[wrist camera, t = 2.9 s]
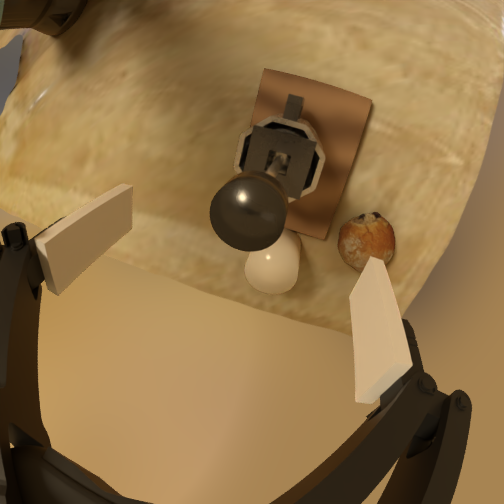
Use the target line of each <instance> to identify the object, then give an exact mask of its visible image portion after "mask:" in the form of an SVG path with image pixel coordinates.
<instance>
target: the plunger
mask: <svg viewBox="0 0 504 504" xmlns="http://www.w3.org/2000/svg"><path fill="white" fill-rule="evenodd" d="M274 129H275V130H279V131H283V132H287V133H290V134H294V135H297V136H300V135H299V134H297V133H296V132H294V131H292V130H289V129H285V128H274ZM290 158H291V155H287V154H284V153H280V152H277V151H273V150H270V152H269V156H268V160H267V164H266V168H265V169H267V171H266V172H262V171H255V170H251V171H244V172H241V173H239V174H237V175H235V176H234V177H232V178H231V179H230V180H229V181H228V182H227V183H226V184H225V185H224V186H223V187H222V188H221V189H220V190H219V191H218V192H217V193H216V195H215V196H214V198H213V200H212V202H211V206H210V220H211V224H212V227H213V229H214V231H215V232H216V234H217V235H218V236H219V238H220V239H221V240H222V241H224V242H225V243H226V244H228V245H229V246H231V247H233V248H235V249H238V250H242V251H248V252H254V251H260V250H263V249H266V248H268V247H270V246H271V245H273V244H274V243H275V242H276V241H277V240H278V239H279V238H280V236H281V234H282V232H283V230H284V226H285V221H286V217H287V213H288V208H289V201H288V196H287V193H286V191H285V189H284V187H283V186H282V184H281V183H280V182H279V181H278V180H277V179H276V176H277V174H278V172H280V173H283V174H286V173H287V169H288V166H289V162H290ZM310 167H311V165H310ZM309 170H310V168H309ZM308 173H309V171H308Z"/></svg>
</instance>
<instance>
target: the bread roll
mask: <svg viewBox="0 0 504 504" xmlns="http://www.w3.org/2000/svg"><path fill="white" fill-rule="evenodd" d="M394 249H395V237H394V231H393V228H392V226H391V225H390V224H389V222H388V221H386V220H385V218H383V217H381V216H380V214H379V213H378V212H374V213H372V214H370V213H368V214H362V215H360V216H359V217H355V218H352V219H351V220H350V221H348V222H346V224H344V225H343V227H342V228H341V229H340V233H339V240H338V250H339V253H340V254H341V257H342V259H343V260H344V262H345V263H347V264H348V265H350V266H352V267H353V268H354V269H356V270H357V271H359V272H361V273H362V272H363V270H364V268H365V266H366V264H367V262H368V260H369V258H370V256H372V257H374V258H377V259H380V260H383V262H384V265H386V264H387V263H388V262H389V260H390V259H391V257H392V255H393V252H394Z"/></svg>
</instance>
